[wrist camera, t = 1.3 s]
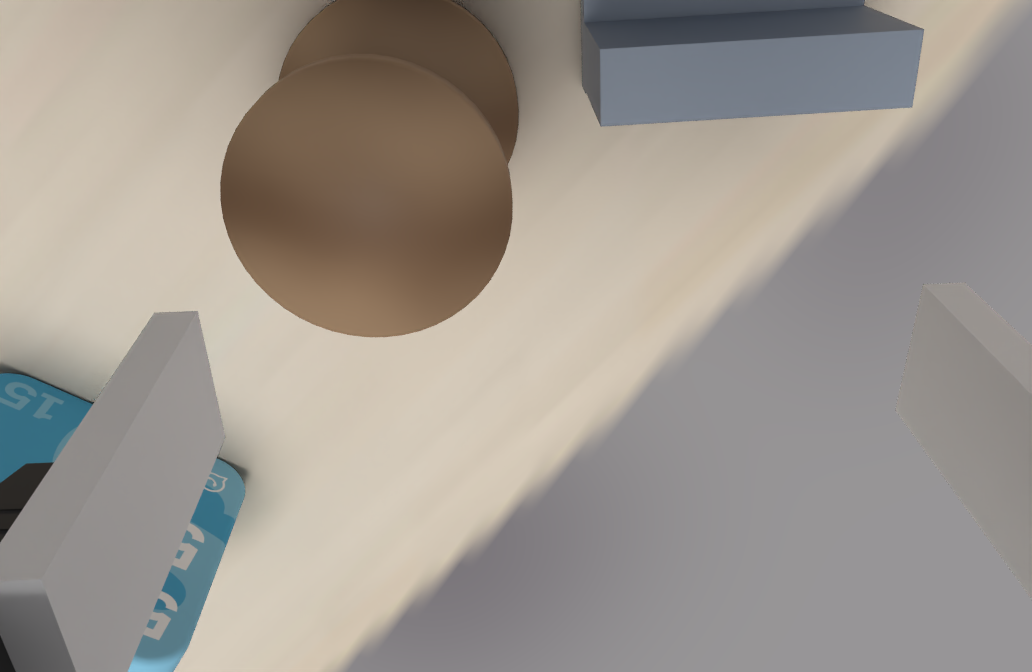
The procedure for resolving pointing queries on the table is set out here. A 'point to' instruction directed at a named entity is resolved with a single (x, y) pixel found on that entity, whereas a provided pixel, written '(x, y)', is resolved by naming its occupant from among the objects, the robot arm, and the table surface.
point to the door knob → (377, 168)
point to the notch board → (743, 59)
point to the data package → (40, 439)
